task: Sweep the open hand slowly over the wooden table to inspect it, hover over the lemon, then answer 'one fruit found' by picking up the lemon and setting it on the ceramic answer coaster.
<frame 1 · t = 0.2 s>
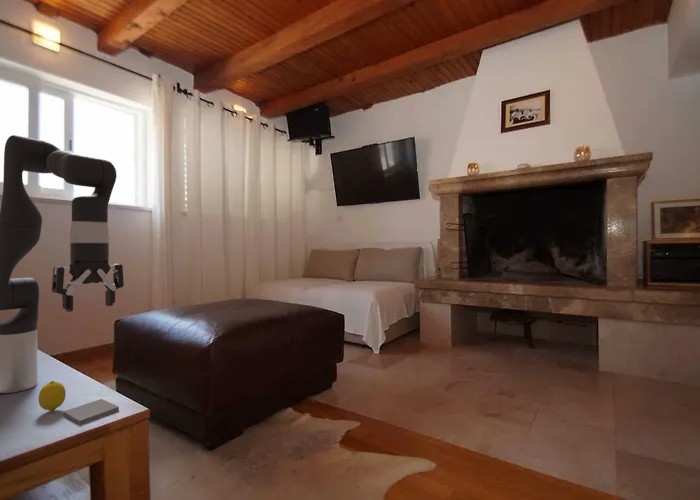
hand: (89, 308, 88), 29 cm above the table, tool pointing down, fingers open, 8 cm apart
answer coaster: (91, 412, 95), on the table
lemon: (52, 412, 96), on the table
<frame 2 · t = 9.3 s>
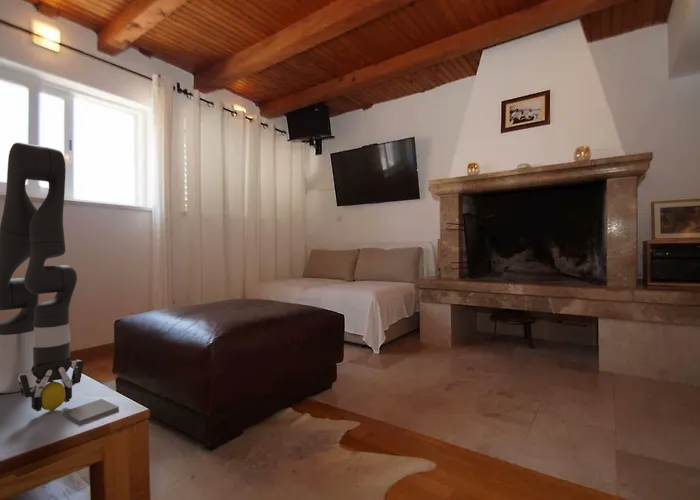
hand: (52, 405, 96), 2 cm above the table, tool pointing down, fingers closed on lemon, 5 cm apart
lemon: (52, 412, 96), on the table, touching gripper
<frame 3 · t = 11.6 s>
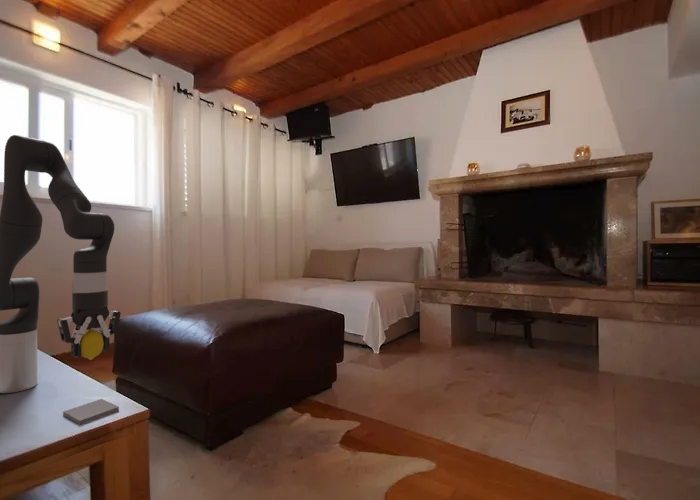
hand: (90, 354, 95), 16 cm above the table, tool pointing down, fingers closed on lemon, 5 cm apart
lemon: (90, 360, 95), point 14 cm above the table, touching gripper
when the fingers open (4 cm above the table, at t = 14.2 s): lemon drops 1 cm, resting on answer coaster.
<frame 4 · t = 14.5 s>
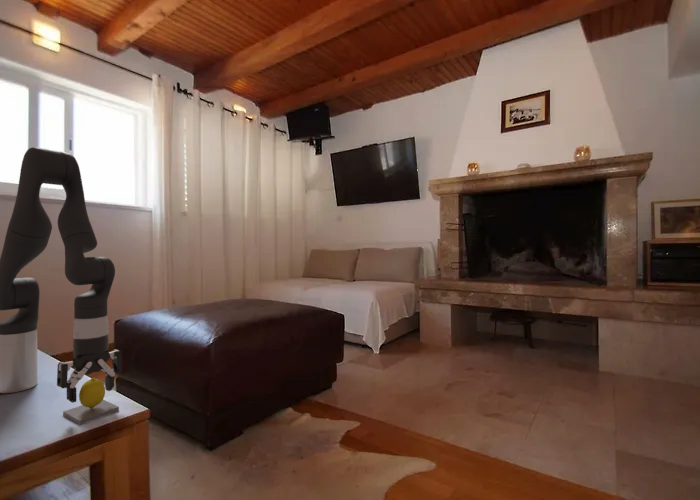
hand: (91, 395, 95), 5 cm above the table, tool pointing down, fingers open, 8 cm apart
lemon: (91, 409, 95), point 1 cm above the table, touching answer coaster
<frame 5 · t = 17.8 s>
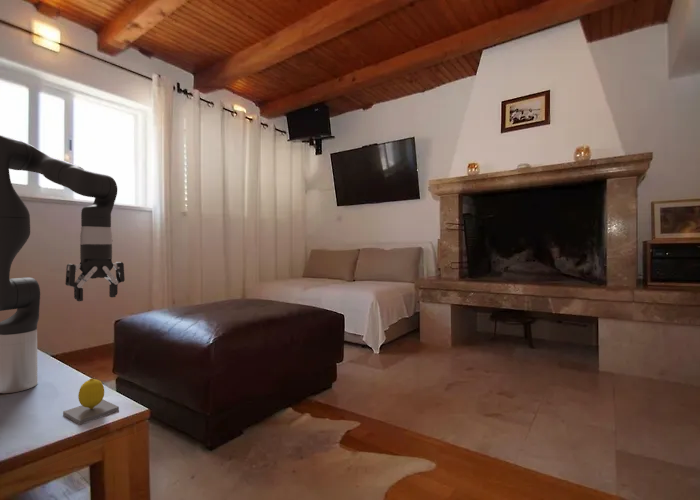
hand: (96, 299, 105), 28 cm above the table, tool pointing down, fingers open, 8 cm apart
nothing on the table moved.
at the end: lemon 0.1 cm off-centre on the answer coaster, point 0.8 cm above the answer coaster's base; the gripper is holding nothing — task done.
